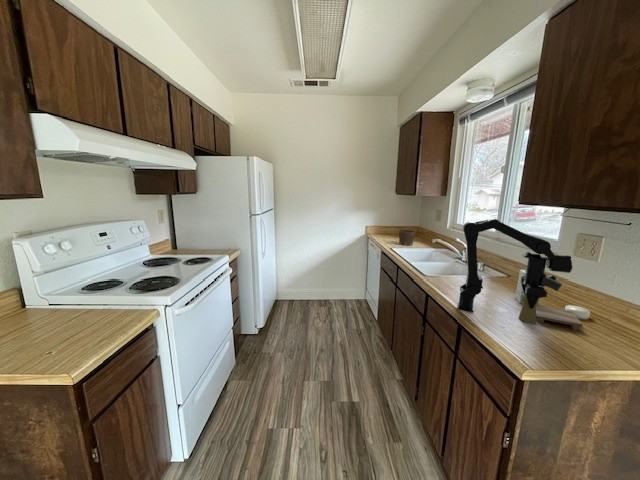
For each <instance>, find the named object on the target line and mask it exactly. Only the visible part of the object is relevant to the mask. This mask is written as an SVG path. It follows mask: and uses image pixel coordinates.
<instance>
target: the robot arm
mask: <svg viewBox="0 0 640 480" xmlns="http://www.w3.org/2000/svg"><path fill="white" fill-rule="evenodd" d="M462 229H463V230H462V231H463V233H464V238H465V242H466V259H467V274H466V278H465V283H464V284H462V285H460V287H459V289H460V290H459V291H460V293H459V299H458V302H457V306H456V308H457V310H463V311H468V312H472V313H474V311H475V310H474V309H475V306H474V300H475V298H476V296H477V295H479V294H480V293H481V292H482V289H484V287H483V282H484V281H483V277H482V275H479V273H478V251H477V249H478V248H477V242H478V238H479V233H481V232H485V231H489V230H492V229H493V230H496V231H498V232H500V233H501V234H504V235H506V236H508V237H510V238H512V239H514V240H516V241H518V242H520V244H521V243H522V244H523V245H524V246H525V247H527V248H528V249H529V250H531V251H532V252H534V253H531V252H530V251H527V252H526V253H524V254H522V257H523V258H526V259H527V266H526V268H525V269H524V270H525V272H526V276H522V277H521V280H520V282H521V285H522V288H523V292H524V295H526V298H527V301H528V305H529V308H531V309H533V308H534V306H535V304H536V302H537V301H538V299H539V298H540V299H541V298H547V297H548V291H547V290H546V289H545V287H547V288H550V289H552V290H553V291H555V292H558V291H559V289H560V288H561V287H562V286H563V283H561V282H560V281H559V280H557V277H556V276H555V275H552V274H550V275H548V276H547V274H546V273H545V271H546V268H547V269H549V271H550V272H558V273H565V274H566V273H567V274H569V273H571V272H572V270H573V263H572V256H571V255H568V254H555V253H554V252H553V250H552V249H551V248H552V245H551V243H550V242H549V241H548V240H545V239H543V238H541V237H539V236H538V237H537V236H536V235H535V236H534V235H531V234H527V233H524V232H523V231H520V230H519V229H516V228H514V227H512V226H510V225H508V224H506V223H503V222H502V221H500V220H499V219H497V218H494V217H493V218H489V219H486V220H485V219H484V220H479V221H472V220H471V221H467V222H465V223H464V224H463V227H462ZM542 255H543V256H542ZM523 282H524V283H523ZM539 286H541V287H539Z"/></svg>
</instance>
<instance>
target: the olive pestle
mask: <svg viewBox="0 0 640 480" xmlns="http://www.w3.org/2000/svg"><path fill="white" fill-rule="evenodd" d="M523 302H524V303H522V307H521V310H520V312H519V316H518V320H519V321H521V322H523V323H526V324H531V325H536V324H537V317H536V305H537V304H538V302H539V303H540V300H539V301H537V302H536V304H535V306H534V308H533V309H531V308H529V305H528V301H527V298H526V295H525V296H524V297H523Z"/></svg>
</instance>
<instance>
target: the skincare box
mask: <svg viewBox="0 0 640 480" xmlns="http://www.w3.org/2000/svg"><path fill="white" fill-rule="evenodd" d="M525 270H526V269H519V273H518V274H519V275H518V281H517V285H516V290H515V295H514V296H515V298H514V299H515V300H516V301H517V302H518V303H519V304H523V303H524V302H523V297H524V296H525V295H524V292H523V288H522V285H521V282H520V280H521V277H522V276H526V272H525ZM523 283H524V282H523ZM539 287H541V286H539ZM540 299H541V298H539V299H538V301H539V302H538V304H537V305H540Z"/></svg>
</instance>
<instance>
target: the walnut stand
mask: <svg viewBox="0 0 640 480" xmlns="http://www.w3.org/2000/svg"><path fill="white" fill-rule="evenodd" d="M580 320H581V319H579V318H577V317H576V315H575V314H574V313H573V312H572V311H568V310H565V309H562V308H557V307H556V308H555V307H550V306H546V305H545V306H544V305H540V304H539V305H536V323H539V324H545V323H544V322H545V321H550V322H555V323H560V324H565V325H570V328H571V330H573V331H578V332H579V331H580V329H581V328H583V326H584V325H583V323H582V322H581V321H580Z"/></svg>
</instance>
